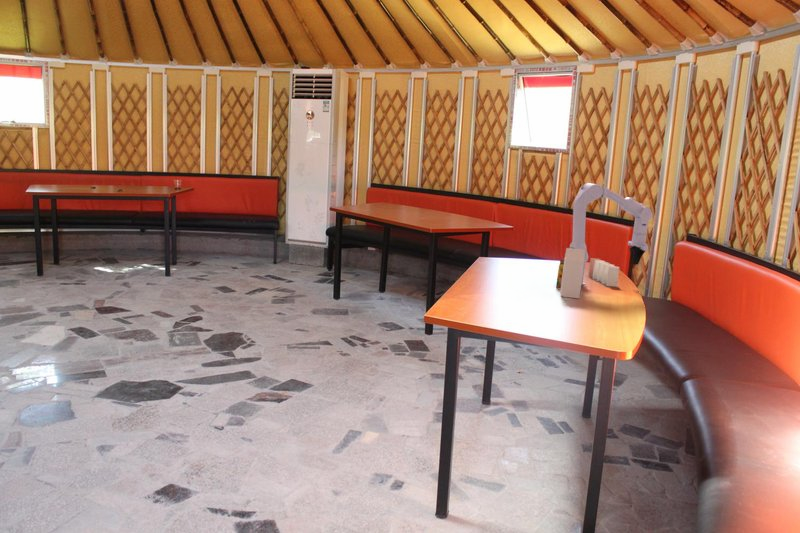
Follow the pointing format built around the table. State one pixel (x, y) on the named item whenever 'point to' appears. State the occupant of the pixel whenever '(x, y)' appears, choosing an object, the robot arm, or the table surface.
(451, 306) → the table surface
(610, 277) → the tile
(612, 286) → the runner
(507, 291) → the table surface
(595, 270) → the tile
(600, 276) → the tile
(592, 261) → the tile
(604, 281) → the tile
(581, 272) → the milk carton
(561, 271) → the crayon box
